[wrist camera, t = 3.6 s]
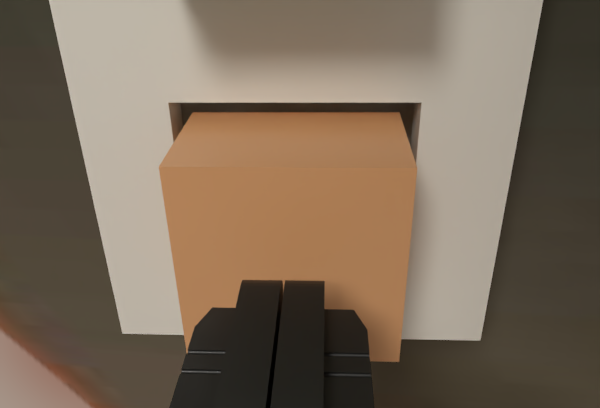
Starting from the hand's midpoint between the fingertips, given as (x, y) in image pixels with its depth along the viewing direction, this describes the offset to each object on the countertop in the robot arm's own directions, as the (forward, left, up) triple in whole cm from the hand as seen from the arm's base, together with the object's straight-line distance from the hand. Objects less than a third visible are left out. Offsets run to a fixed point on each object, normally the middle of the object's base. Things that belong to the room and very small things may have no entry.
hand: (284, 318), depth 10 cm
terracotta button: (0, 0, -4) cm, 4 cm away
